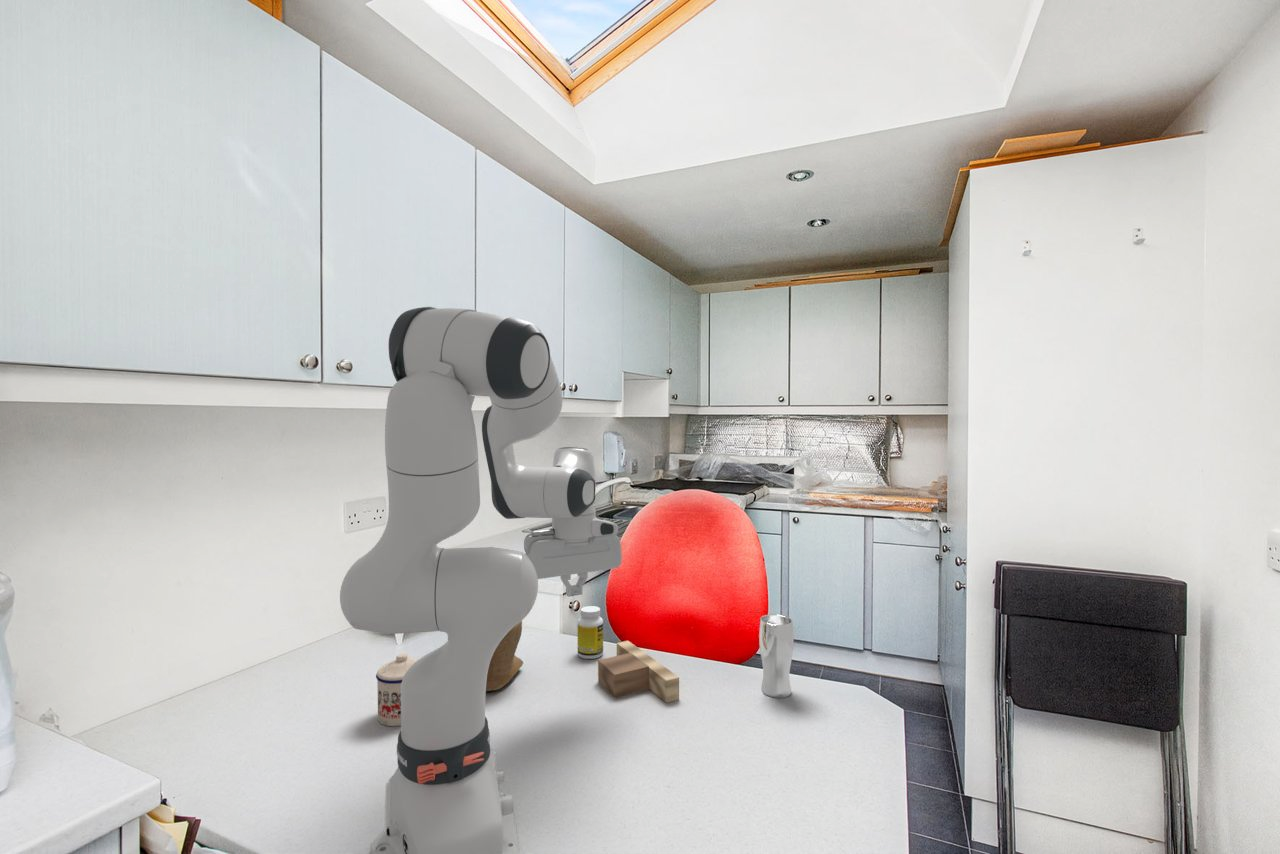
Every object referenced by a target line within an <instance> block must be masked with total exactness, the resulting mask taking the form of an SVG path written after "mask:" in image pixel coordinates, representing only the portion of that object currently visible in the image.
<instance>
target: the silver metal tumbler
mask: <svg viewBox="0 0 1280 854" xmlns="http://www.w3.org/2000/svg"><path fill="white" fill-rule="evenodd" d="M759 620H760V623H759V634H758V638H759V640H758V641H759V643H758V644H759V651H760V657H761V663H762V670H763V673H762V683H761V693H763V694H764V695H766V696H768V697H771V698H775V699H776V698H777V699H783V698H787V697H789V696H791V694H792V687H791V681H790V674H791V673H790V671H791V665H792V660H793V659H792V658H793V653H794V644H795V643H794V640H795V639H794V636H795V635H794V624H793V622H794V620H793V619H792V618H791V617H789V616H786V615H783V614H776V613H775V614H773V613H772V614H770V613H769V614H765V615H762V616H761V617H760V619H759Z"/></svg>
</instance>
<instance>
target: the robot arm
mask: <svg viewBox="0 0 1280 854" xmlns="http://www.w3.org/2000/svg"><path fill="white" fill-rule="evenodd" d="M388 358H389V362H390V365H391V371H392V374H393V377H394V379H395V381H396V382H395V384H393V386H392V387H391V389H390V391H389V393H388V397H387V403H386V412H385V422H384V453H385V454H384V455H385V464H386V476H387V488H388V489H387V490H388V491H387V492H388V513H387V514H388V515H387V522H386V525H385V529H384V530H383V533H382V535H381V537H380V538H379V540H378V542H377V543H376V544H375V545H374V547H373V548H371V549H370V550H369V551H368V552H367V553H366V554H364V555H362V556H361V557H359V558H358V559H357V560H355V562H354V563H353V564H352V565H351V566H350V568H349V569H348V570H347V571H346V574H345V576H344V578H343V580H342V584H341V586H340V592H339V603H340V609H341V611H342V614H343V617H344V618H345V619H346V621H347V622H348V624H349V625H350V626H351V627H352V628H353V629H355V630H360V631H366V632H371V633H379V634H387V635H398V634H411V633H415V634H417V633H429V632H431V633H432V632H442V633H445V634H446V635H447V641H446V642H445V643H444V644H442V645H441V646H440V647H439V648H436V649H434V650H432V651H431V652H429V653H426V654H425V655H424V656H422V657H420V658H418V659H419V660H417V661H416V662H415V663H414V664H413V665H412V666H411V667H410V668H409V669H408V670H407V672H406V673H405V675H404V677H403V680H402V683H401V726H400V731H399V733H398V736H397V744H396V757H397V768H396V770H395V772H394V773H393V775H392V776H391V777H390V778H389V780H388V781H387V782H386V783H385V800H384V801H385V804H384V805H385V806H384V831H383V832H382V833H380V834H379V835H378V836H377V837H376V838H374V839H373V841H372V842H371V843H370V848H369V850H370V851H369V854H521V852H520V847H519V840H518V835H517V827H516V821H515V816H514V801H513V800H514V799H513V795H512V794H511V793H510V794H506V795H505V793H504V791H499V784H500V783H504V782H505V771H504V770H502V771H497V752H496V751H494V750H493V749H492V748H491V744H490V742H491V733H490V728H489V721H488V719H487V717H486V693H487V691H486V681H487V673H488V668H489V664H490V661H491V658H492V656H493V654H494V652H495V650H496V648H497V646H498V645H499V643H500V642H501V640H502V639H503V638H504V636H505V635H506V634H507V633H508V632H509V631H510V630H511V629H512V628H513V627H514V626H515V625H517V624H518V623H519V622H521V621H522V622H523V620H524V619H525V618H526V617H527V616H528V615H529V614H530V611H531V610H532V609H533V607H534V606H535V602H536V600H537V598H538V597H537V596H538V591H539V580H543V579H548V578H556V577H557V578H558V577H560V580H561V582H562V583H563V585H564V587H565V595H566V596H567V597H576V596H581V595H583V587H584V585H585V584H586V581H587V580H588V578H589V577H588V575H589V573H592V572H599V571H607V570H614V569H618V568H620V566H621V564H622V562H623V561H622V560H623V559H622V558H623V557H622V545H621V540H620V538H619V536H618V535H617V534H618V532H619V526H618V524H617V523H615V522H612V521H610V520H606V519H604V518H601V517H597V516H596V515H597V514H596V513H597V512H596V511H597V510H596V507H595V503H594V502H595V499H596V471H595V470H596V469H595V463H594V456H593V453H592V451H591V450H589V449H587V448H584V447H577V446H565V447H559V448H557V449H555V452H554V455H553V462H552V466H528V465H527V466H526V465H522V464H520V463H518V462H516V456H515V451H514V450H515V449H514V444H517V443H520V442H521V441H526V440H530V439H534V438H536V437H537V436H540V435H541V434H543V433H545V432H546V431H547V430H548V429H550V428H551V427H552V426H553V425H554V423H556V421H557V420H558V418H559V416H560V414H561V411H562V408H563V393H562V388H561V383H560V380H559V377H558V374H557V370H556V367H555V364H554V361H553V359H552V357H551V351H550V346H549V342H548V340H547V338H546V337H545V335H544V332H542V330H541V329H540V328H539V327H538V326H537V325H535V324H533V323H532V322H529V321H527V320H525V319H522V318H519V317H515V316H509V317H505V316H501V315H496V314H493V313H488V312H482V311H481V312H480V311H477V310H474V309H468V308H467V309H466V308H450V307H449V308H437V307H434V306H425V307H417V308H411V309H408V310H406V311H403V312H402V313H401V314H400V315H399V316H398V317H397V319H395V322H394V323H393V326H392V328H391V330H390V333H389V336H388ZM476 396H478V397H489V399H490V402H491V405H490V406H488V407H487V408H486V410H485V411H484V413H483V415H482V416H483V417H482V421H481V435H482V442H483V448H484V452H485V457H486V463H487V467H488V472H489V478H490V491H491V501H492V505H493V507H494V508H495V510H496V511H497V512H498V513H499V514H500V515H501V516H502V517H503V518H504V519H507V520H511V519H526V518H533V519H534V518H535V519H537V518H538V519H551V528H549V529H543V530H532V531H531V532H530V533H529V534H527V535H526V536H525V537H524V540H523V549H524V552H523V551H518V550H513V549H508V548H501V547H495V546H494V547H493V546H487V547H486V546H484V547H461V548H460V547H458V548H457V547H455V548H453V547H452V548H444V547H438V544H440V543H441V542H443V541H444V540H447V539H449V538H450V537H453V536H454V535H457V534H459V532H461V531H463V530H464V529H465V528H466V527H468V526H469V525H470V524H471V523H472V522H473V521H474V519H475V518H476V516H477V514H479V513H478V512H479V510H480V506H481V495H480V491H481V489H480V471H479V468H480V467H479V453H478V452H479V450H478V441H477V440H478V437H477V433H476V432H477V431H476V425H475V421H474V415H473V410H472V408H473V403H474V401H475V399H476V398H475V397H476ZM572 575H577V577H578V578H577V579H578V580H577V581H576V584H573V585H571V583H570V580H571V579H572Z"/></svg>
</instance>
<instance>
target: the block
mask: <svg viewBox="0 0 1280 854" xmlns="http://www.w3.org/2000/svg"><path fill="white" fill-rule="evenodd" d="M597 663H598V665H597V677H598V678H597V683H598V684H599V685H600V686H602V688H604V689H605V690H606V691H607V693H609V694H610V696H612V697H613V698H614V699H616V698H621V697H624V696H629V695H632V694H635V693H639V691H640V692H642V691H647V690H650V689H649V666H648V665H646V664H645V663H644V662H642V661H641V660H640V659H638V658H637V657H636V656H635V655H633V654H632V653H628V654H623V655H619V656H617V655H615V656H610V657H607V658H602V659H598V660H597Z"/></svg>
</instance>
